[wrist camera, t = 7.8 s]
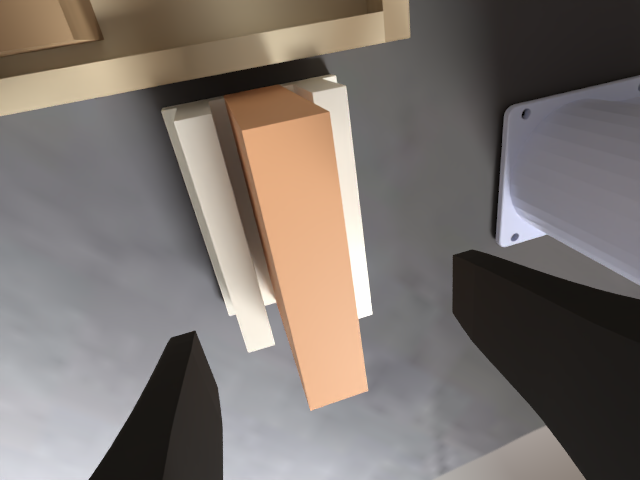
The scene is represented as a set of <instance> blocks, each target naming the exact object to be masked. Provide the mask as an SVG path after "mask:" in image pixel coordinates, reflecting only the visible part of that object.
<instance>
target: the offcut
mask: <svg viewBox="0 0 640 480" xmlns="http://www.w3.org/2000/svg"><path fill="white" fill-rule="evenodd" d="M100 40H104V37H103V35H102V32H101V29H100V26H99V24H98V21H97V18H96V16H95V13H94V10H93V7H92V5H91V2H90V0H0V57H5V56H11V55H17V54H23V53H29V52H35V51H41V50H47V49H53V48H59V47H65V46H71V45H76V44H82V43H88V42H94V41H100Z"/></svg>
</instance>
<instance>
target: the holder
mask: <svg viewBox="0 0 640 480" xmlns="http://www.w3.org/2000/svg"><path fill="white" fill-rule="evenodd" d="M279 85H280V86H282V87H284V88H286V89H288V90H290V91H292V92H294V93H296V94H297V95H299V96H301V97H303V98H305V99H307V100H309V101H311V102H312V103H314V104H316V105H318V106H320V107H322V108H324V109H326V110H328V111H329V112H330V118H331V125H332V132H333V139H334V147H335V154H336V161H337V168H338V176H339V183H340V190H341V197H342V205H343V212H344V219H345V227H346V234H347V241H348V248H349V256H350V263H351V270H352V277H353V285H354V292H355V299H356V306H357V314H358V319H359V318H362V317H365V316H368V315H371V314H372V307H371V298H370V290H369V281H368V272H367V264H366V255H365V246H364V238H363V229H362V220H361V211H360V203H359V194H358V185H357V177H356V168H355V159H354V151H353V142H352V133H351V124H350V116H349V107H348V98H347V90H346V86H345V85H342V84H338V83H337V80H336V76H335V75H331V74H329V75H324V76H319V77H314V78H309V79H304V80H299V81H294V82H289V83H284V84H279ZM161 113H162V115H163V118H164V121H165V124H166V127H167V130H168V133H169V136H170V139H171V142H172V145H173V148H174V151H175V154H176V157H177V160H178V163H179V166H180V169H181V172H182V175H183V178H184V181H185V184H186V187H187V190H188V193H189V196H190V199H191V202H192V205H193V208H194V211H195V214H196V217H197V220H198V223H199V226H200V229H201V232H202V235H203V238H204V241H205V244H206V247H207V250H208V253H209V256H210V259H211V262H212V265H213V268H214V271H215V274H216V277H217V280H218V283H219V286H220V289H221V292H222V295H223V298H224V301H225V304H226V307H227V310H228V313H229V316H232V315H235V314H236V316H237V319H238V322H239V326H240V329H241V332H242V335H243V338H244V341H245V344H246V347H247V350H248V353H250V352H253V351H256V350H259V349H263V348H266V347H269V346H272V345H275V342H274V339H273V335H272V331H271V327H270V323H269V320H268V316H267V312H266V308H265V306H266V305H269V304H272V303H276V299H275V295H274V291H273V287H272V283H271V279H270V276H269V272H268V268H267V264H266V260H265V256H264V252H263V248H262V244H261V240H260V237H259V233H258V229H257V225H256V221H255V217H254V213H253V209H252V205H251V202H250V198H249V194H248V190H247V186H246V182H245V178H244V174H243V170H242V167H241V163H240V159H239V155H238V151H237V147H236V143H235V139H234V135H233V131H232V128H231V124H230V120H229V116H228V112H227V108H226V104H225V100H224V96H219V97H214V98H209V99H204V100H199V101H194V102H189V103H184V104H179V105H174V106H170V107H165V108H162V110H161Z"/></svg>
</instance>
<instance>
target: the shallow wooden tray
mask: <svg viewBox="0 0 640 480" xmlns="http://www.w3.org/2000/svg"><path fill="white" fill-rule="evenodd" d="M90 2H91V5H92V7H93V10H94V13H95V16H96V18H97V21H98V24H99V26H100V29H101V32H102V35H103V37H104V40H100V41H94V42H88V43H82V44H76V45H71V46H65V47H59V48H53V49H47V50H41V51H35V52H29V53H23V54H17V55H11V56H5V57H0V116H3V115H9V114H14V113H19V112H24V111H29V110H35V109H40V108H45V107H50V106H56V105H61V104H66V103H71V102H77V101H82V100H87V99H92V98H97V97H103V96H108V95H113V94H118V93H124V92H129V91H134V90H139V89H144V88H150V87H155V86H160V85H165V84H171V83H176V82H181V81H186V80H192V79H197V78H202V77H207V76H212V75H218V74H223V73H228V72H233V71H239V70H244V69H249V68H254V67H259V66H265V65H270V64H275V63H280V62H286V61H291V60H296V59H301V58H306V57H312V56H317V55H322V54H327V53H333V52H338V51H343V50H348V49H354V48H359V47H364V46H369V45H374V44H380V43H385V42H390V41H395V40H401V39H406V38H410V18H409V0H90Z"/></svg>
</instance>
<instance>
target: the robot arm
mask: <svg viewBox="0 0 640 480" xmlns="http://www.w3.org/2000/svg"><path fill="white" fill-rule="evenodd" d="M524 110H525V114H524V116H523V117H522V112H523V111H524ZM513 234H514V236H513V237H512V235H513ZM547 234H548V235H549V236H551V237H553V238H555V239H557V240H558V241H560V242H562V243H564V244H566V245H567V246H569V247H571V248H573V249H575V250H577V251H578V252H580V253H582V254H584V255H586V256H587V257H589V258H591V259H593V260H595V261H596V262H598V263H600V264H602V265H604V266H606V267H607V268H609V269H611V270H613V271H615V272H616V273H618V274H620V275H622V276H624V277H626V278H627V279H629V280H631V281H633V282H635V283H636V284H638V285H640V75H638V76H634V77H630V78H625V79H621V80H617V81H613V82H608V83H604V84H600V85H595V86H591V87H587V88H583V89H578V90H574V91H570V92H565V93H561V94H557V95H552V96H548V97H544V98H540V99H535V100H531V101H527V102H522V103H518V104H514V105H511V106H510V107H509V108H508V109H507V110H506V112H505V114H504V122H503V137H502V152H501V167H500V183H499V198H498V213H497V228H496V242H497V244H499V245H500V246H502V247H507V246H510V245H514V244H517V243H520V242H524V241H527V240H530V239H534V238H537V237H540V236H544V235H547ZM511 237H512V238H511ZM453 314H454V315H455V317H456V318H457V320H458V322H459V323H460V325H461V326H462V328H463V329H464V330H465V332H466V333H467V335H468V336H469V337H470V339H471V340H472V342H473V343H474V344H475V345H476V346H477V347H478V348H479V349H480V351H481V352H482V353H483V354H484V355H485V356H486V357H487V358H488V360H489V361H490V362H491V363H492V364H493V365H494V366H495V367H496V368H497V369H498V371H499V372H500V373H501V374H502V375H503V376H504V377H505V378H506V379H507V380H508V381H509V383H510V384H511V385H512V386H513V387H514V388H515V389H516V390H517V391H518V392H519V393H520V395H521V396H522V397H523V398H524V399H525V400H526V401H527V402H528V403H529V404H530V406H531V407H532V408H533V409H534V410H535V412H536V413H537V414H538V415H539V416H540V418H541V419H542V420H543V421H544V423H545V424H546V425H547V427H548V428H549V429H550V431H551V432H552V433H553V435H554V436H555V437H556V438H557V440H558V441H559V442H560V444H561V445H562V447H563V448H564V449H565V451H566V452H567V453H568V455H569V456H570V457H571V459H572V460H573V462H574V463H575V465H576V466H577V467H578V469H579V470H580V472H581V473H582V474H583V476H584V477H585V479H586V480H640V299H636V298H631V297H627V296H622V295H618V294H614V293H610V292H606V291H602V290H599V289H595V288H592V287H588V286H585V285H581V284H578V283H574V282H571V281H568V280H565V279H561V278H558V277H555V276H552V275H549V274H546V273H543V272H540V271H537V270H534V269H531V268H528V267H525V266H522V265H519V264H516V263H513V262H511V261H508V260H505V259H502V258H499V257H496V256H493V255H490V254H487V253H483V252H480V251H476V250H469V251H466V252H462V253H459V254H455V255H453ZM89 480H223V428H222V417H221V408H220V401H219V393H218V387H217V384H216V382H215V379H214V377H213V374H212V372H211V369H210V367H209V364H208V361H207V359H206V356H205V354H204V351H203V349H202V346H201V344H200V341H199V339H198V336H197V334H196V331H192V332H189V333H186V334H182V335H179V336H175V337H172V338H170V340H169V342H168V343H167V345H166V347H165V349H164V351H163V353H162V355H161V357H160V359H159V361H158V363H157V365H156V368H155V369H154V371H153V373H152V375H151V377H150V379H149V381H148V383H147V385H146V387H145V389H144V391H143V392H142V394H141V396H140V398H139V400H138V402H137V403H136V405H135V407H134V409H133V411H132V412H131V414H130V416H129V418H128V419H127V421H126V422H125V424H124V426H123V427H122V429H121V431H120V432H119V434H118V436H117V437H116V439H115V441H114V442H113V444H112V446H111V447H110V449H109V450H108V452H107V453H106V455H105V456H104V458H103V459H102V461H101V462H100V464H99V465H98V467H97V468H96V470H95V471H94V473H93V474H92V476H91V477H90V478H89Z"/></svg>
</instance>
